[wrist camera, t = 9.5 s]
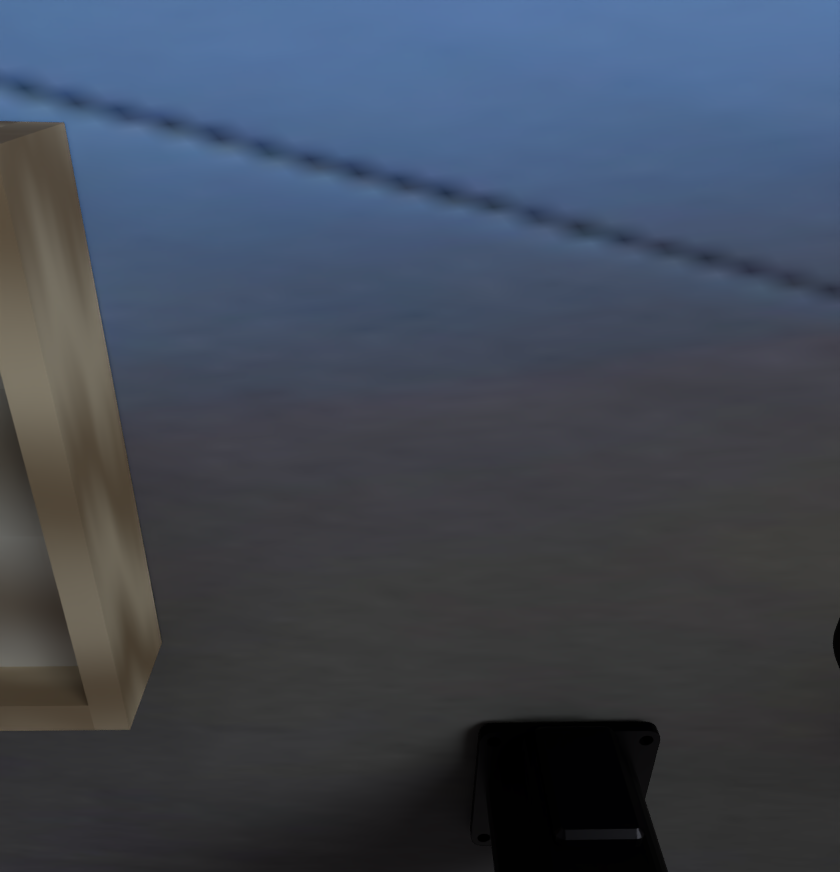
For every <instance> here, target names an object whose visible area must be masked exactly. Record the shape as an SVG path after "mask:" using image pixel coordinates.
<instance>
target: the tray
mask: <svg viewBox="0 0 840 872" xmlns="http://www.w3.org/2000/svg"><path fill="white" fill-rule="evenodd" d="M161 644H162V641H161V636H160V630H159V625H158V620H157V614H156V609H155V604H154V598H153V593H152V588H151V582H150V577H149V572H148V566H147V561H146V556H145V550H144V545H143V540H142V534H141V529H140V524H139V518H138V513H137V508H136V502H135V497H134V492H133V486H132V481H131V476H130V470H129V465H128V460H127V454H126V449H125V444H124V438H123V433H122V428H121V422H120V417H119V412H118V406H117V401H116V396H115V391H114V385H113V380H112V375H111V369H110V364H109V359H108V353H107V348H106V343H105V337H104V332H103V327H102V321H101V316H100V311H99V305H98V300H97V295H96V289H95V284H94V279H93V273H92V268H91V263H90V257H89V252H88V247H87V241H86V236H85V231H84V225H83V220H82V215H81V209H80V204H79V199H78V193H77V188H76V183H75V177H74V172H73V167H72V161H71V156H70V151H69V145H68V140H67V135H66V129H65V124H64V123H59V122H12V121H0V731H39V730H130V728H131V725H132V723H133V720H134V717H135V714H136V712H137V709H138V706H139V704H140V701H141V698H142V695H143V693H144V690H145V687H146V684H147V682H148V679H149V676H150V674H151V671H152V668H153V665H154V663H155V660H156V657H157V655H158V652H159V649H160V646H161Z"/></svg>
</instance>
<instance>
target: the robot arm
mask: <svg viewBox="0 0 840 872" xmlns="http://www.w3.org/2000/svg"><path fill="white" fill-rule="evenodd" d="M833 649H834V654H835V658H836V661H837V663H838V666H839V668H840V618H839V621H838V624H837V626H836V629H835V632H834V637H833ZM492 737H494V738H492ZM659 743H660V736H659V733H658V730H657V728H656V726H655V725H654V724H652V723H650V722H577V723H492V724H487V725H485V726H483V727H482V728H481V729H480V731H479V736H478V747H477V758H476V769H475V781H474V792H473V803H472V814H471V825H470V831H471V840H472V842H473V843H474V844H476V845H480V846H492V853H493V862H494V870H495V872H668V870H667V867H666V864H665V861H664V858H663V855H662V851H661V848H660V845H659V842H658V839H657V836H656V833H655V830H654V827H653V823H652V820H651V817H650V814H649V811H648V808H647V805H646V802H645V797H646V793H647V789H648V785H649V781H650V778H651V774H652V770H653V766H654V762H655V758H656V754H657V750H658V747H659Z"/></svg>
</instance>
